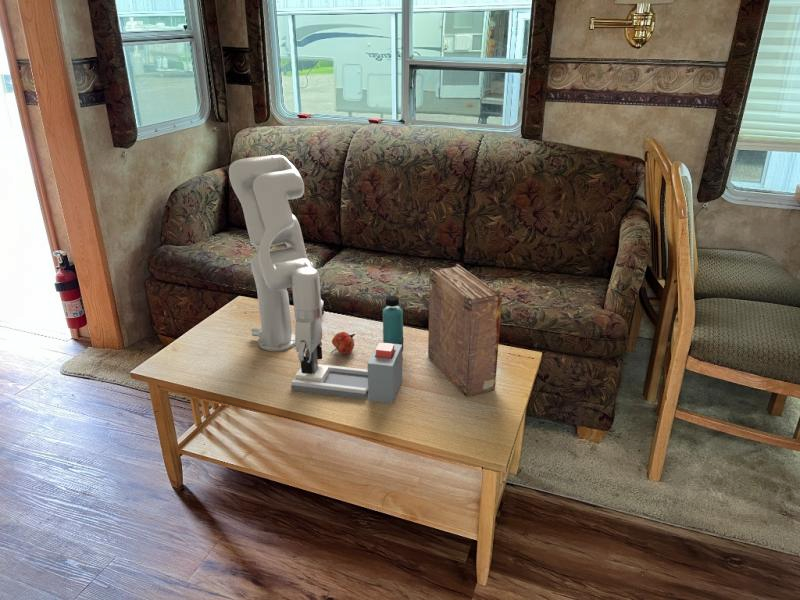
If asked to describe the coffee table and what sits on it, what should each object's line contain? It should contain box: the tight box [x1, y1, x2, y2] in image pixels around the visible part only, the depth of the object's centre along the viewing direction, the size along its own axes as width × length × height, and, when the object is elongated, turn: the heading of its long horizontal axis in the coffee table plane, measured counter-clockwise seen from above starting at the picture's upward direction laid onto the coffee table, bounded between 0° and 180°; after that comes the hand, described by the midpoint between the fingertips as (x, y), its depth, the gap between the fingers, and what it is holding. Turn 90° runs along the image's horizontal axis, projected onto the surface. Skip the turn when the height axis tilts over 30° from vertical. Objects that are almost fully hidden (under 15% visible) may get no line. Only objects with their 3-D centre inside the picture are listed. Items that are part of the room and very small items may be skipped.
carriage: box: [295, 347, 329, 383], centre depth 180 cm, size 8×6×9 cm
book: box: [427, 263, 503, 398], centre depth 180 cm, size 25×9×30 cm, turn 24°
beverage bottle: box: [382, 295, 405, 353], centre depth 192 cm, size 6×7×20 cm
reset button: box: [376, 342, 394, 359], centre depth 173 cm, size 4×4×4 cm
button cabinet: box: [367, 341, 403, 404], centre depth 176 cm, size 7×12×12 cm, turn 167°
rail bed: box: [290, 363, 369, 401], centre depth 181 cm, size 22×12×3 cm, turn 77°
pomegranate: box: [330, 331, 356, 356], centre depth 196 cm, size 7×7×10 cm
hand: (312, 365), depth 180 cm, fingers open, 7 cm apart
